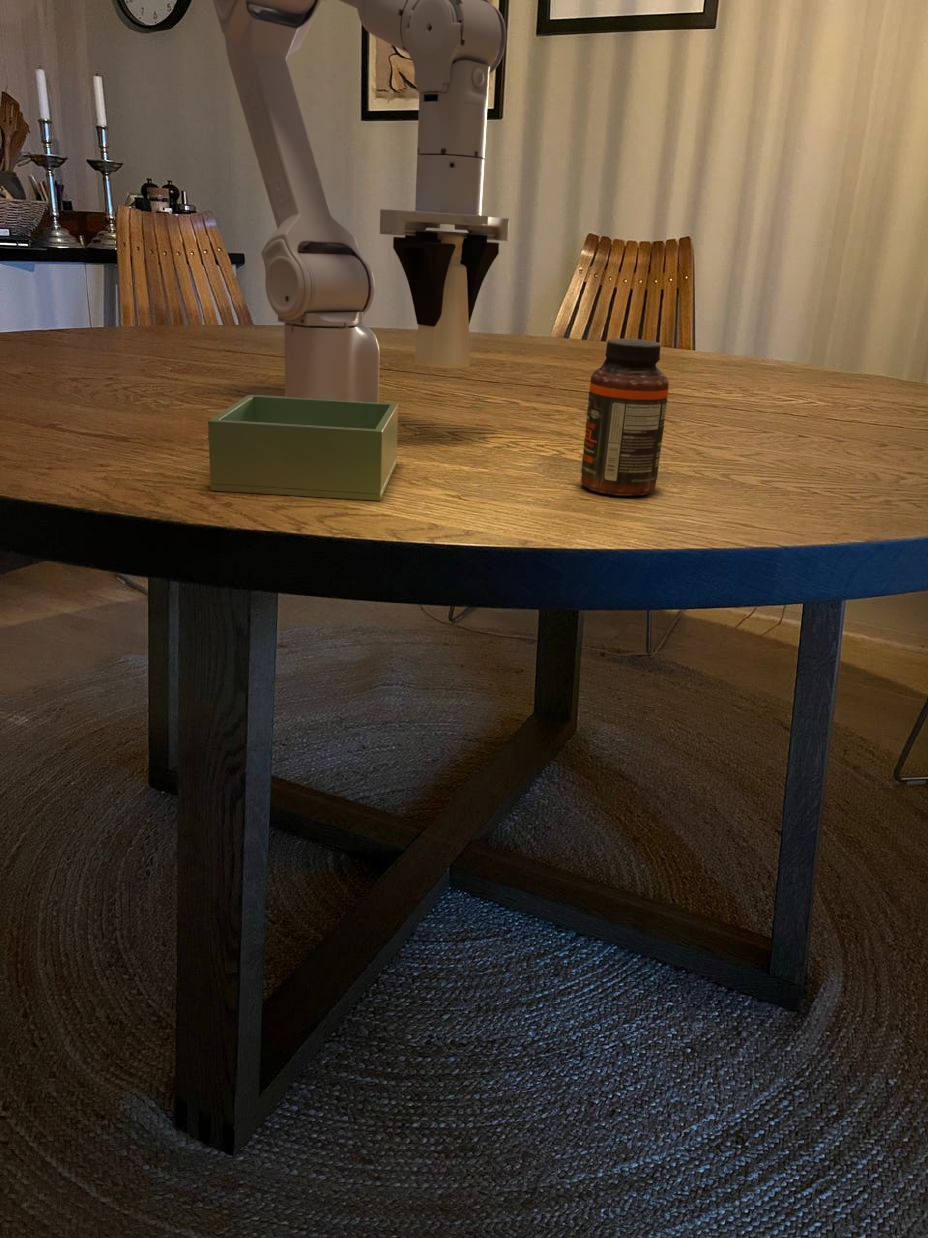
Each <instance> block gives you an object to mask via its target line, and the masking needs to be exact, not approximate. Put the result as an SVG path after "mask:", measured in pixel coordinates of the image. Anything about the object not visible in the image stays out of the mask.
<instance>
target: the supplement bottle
mask: <svg viewBox="0 0 928 1238" xmlns="http://www.w3.org/2000/svg"><path fill="white" fill-rule="evenodd" d="M661 347H662V344H661V343H660V342H656V341H653V340H645V339H639V338H637V339H636V338H610V339H608V340H607V342H606V349H605V354H604V355H605V359H604V361H603V363H602V364H601V366H600V367H599V368H597V369H596V370H594V371H593V372H592V374H591V377H590V382H589V390H588V399H587V409H586V421H585V432H584V439H583V448H582V449H583V452H582V460H581V461H582V462H581V469H580V473H581V477H580V481H581V484H582V485H583V486H584V487H585V488H586V489H588V490H590V491H591V492H595V493H599V494H603V495H611V496H615V497H642V496H645V495H647V494H650V493H652V492H653V491H655V489H656V487H657V480H658V474H659V466H660V459H661V452H662V443H663V437H664V429H665V421H666V413H667V406H668V405H667V404H668V397H669V389H670V388H669V387H670V382H669V379H668V376H667V375H666V374H665V373H664V372H662V371H661V370H660V368H659V367H658V366H657V363H658V362H659V361H660V360H661Z"/></svg>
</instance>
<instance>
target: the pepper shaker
mask: <svg viewBox="0 0 928 1238" xmlns="http://www.w3.org/2000/svg"><path fill="white" fill-rule="evenodd" d="M438 240H441V243H450V244H455V246H456V247H455V250H454V252H453V255H452V258H451V260H450V264H449V267H448V271H447V275H446V279H445V284H444V292H443V303H442V313H441V316H440V319H439V321H438V322H437V324H436V326H426V325H418V324H417V333H416V341H415V347H414V348H415V349H414V354H413V355H414V356H413V361H414V364H415V365H419V366H425V367H431V368H450V369H457V368H467V367H468V368H469V367H470V366H471V348H470V347H471V346H470V345H471V344H470V323H469V318H468V292H467V272H466V267H465V266H464V265H462V264H460V260H461V254H462V244H463V240H464V238H463V236H461V235H457V234H440V237H438Z"/></svg>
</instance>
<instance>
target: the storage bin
mask: <svg viewBox="0 0 928 1238" xmlns="http://www.w3.org/2000/svg"><path fill="white" fill-rule="evenodd" d="M398 423H399V403H395V402H394V403H393V402H363V401H346V400H330V399H313V398H297V397H285V396H279V395H278V396H277V395H262V394H248V395H246V396H244V397H242V398H241V399H240V400H238V401H236V402H235V403H233V404H232V405H230V406H229V407H227V408H225V409H224V410H222V411H221V412H219V413H218V414H216V415H215V416H213V417H212V418H210V419H208V420H207V429H208V453H209V454H208V456H209V457H208V458H209V482H210V485H209V486H210V491H213V492H214V491H215V492H230V493H231V492H232V493H244V494H245V493H246V494H247V493H248V494H260V495H261V494H263V495H264V494H265V495H279V496H296V497H311V498H328V499H346V500H362V501H376V502H380V501H381V500H382V498H383V496H384V493H385V491H386V489H387V486H388V484H389V482H390V480H391V477H392V476H393V473H394V470H395V469H396V466H397V461H398V460H397V459H398V458H397V457H398V430H399V429H398V427H399V425H398Z"/></svg>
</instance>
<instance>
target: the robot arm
mask: <svg viewBox="0 0 928 1238" xmlns="http://www.w3.org/2000/svg"><path fill="white" fill-rule="evenodd" d="M328 1H329V0H212V2H213V6H214V9H215V12H216V15H217V19H218V23H219V26H220V29H221V33H222V34H223V35H224V40H225V41H224V42H225V49H226V56H227V60H228V64H229V67H230V71H231V74H232V78H233V81H234V84H235V88H236V92H237V95H238V98H239V101H240V106H241V109H242V111H243V116H244V119H245V122H246V126H247V129H248V133H249V136H250V139H251V143H252V146H253V149H254V153H255V157H256V160H257V163H258V167H259V170H260V174H261V177H262V180H263V185H264V186H265V187H264V188H265V191H266V195H267V197H268V200H269V204H270V209H271V211H272V214H273V219H274V221H275V225H276V228H277V230H276V231H275V232H274V233H273V234H272V235H271V237H269V238H268V240H267V241H266V243H265V245H264V247H263V248H262V250H261V257H262V261H263V264H264V271H265V279H264V280H265V281H264V283H265V284H264V286H265V294H266V298H267V300H268V302H269V305H270V307H271V308H272V311H273V312H274V313H275V314H276V315H277V322H278V323H279V322H280V323H284V324H283V325H284V326H283V328H284V329H283V332H284V333H283V334H284V335H283V336H284V397H297V398H313V399H330V400H346V401H363V402H379V401H380V400H379V397H380V392H379V391H380V362H381V361H380V357H381V354H380V346H379V342H378V340H377V336H376V334H375V333H374V332H373V330H372V329H371V328H369V327H368V326H367V325H365V324H363V316H365V315H366V314H367V312H369V310H370V308H371V307H372V304H373V301H374V297H375V291H376V290H375V288H376V286H375V284H376V283H375V277H374V276H375V275H374V274H373V270H372V267H371V266H370V264H369V262H368V260H366V259H365V257H364V256H363V254H362V253H361V251H360V248H359V246H358V242H357V239H356V237H355V236H354V235H353V234H352V233H351V232H350V231H349V230H347V228H346V227H344V226H343V225H342V224H341V223H339V222H338V221H337V220H336V219H335V218H334V217H333V215H332V213H331V210H330V207H329V203H328V201H327V200H328V199H327V197H326V192H325V190H324V185H323V182H322V180H321V176H320V172H319V169H318V165H317V162H316V159H315V155H314V151H313V148H312V145H311V141H310V138H309V134H308V131H307V127H306V124H305V120H304V118H303V113H302V110H301V107H300V103H299V100H298V95H297V94H296V89H295V86H294V83H293V79H292V75H291V73H290V68H289V66H288V61H287V60H288V56H289V55H291V54H292V53H294V52H296V51H299V49H300V47H301V45H303V41H304V40H305V38H306V35H307V33H308V32H309V30H310V28H311V26H312V23H313V21H314V20H315V18H316V15H317V14H318V12H319V10H320V8H321V6H322V3H323V2H324V3H327V2H328ZM338 1H340V2H342V3H344V4H346V5H348V6H351V7H352V8H355V9H357V14H358V15H357V16H358V18H359V21H360V23H361V25H362V27H363V28H364V29H365V31H366V32H368V33H369V34H370V35H372V36H374V37H376V38H378V39H380V40H382V41H384V42H385V43H388V44H389V45H391V46H393V47H395V48H397V49H399V50H400V51H402V52H405V53H406V54H407V55H408V56H409V58H410V60H411V62H412V64H413V69H414V74H413V75H414V77H413V78H414V79H413V81H414V82H413V84H414V86H416V91H417V92H418V94H419V95H418V117H417V118H418V120H417V123H418V124H417V148H416V149H417V150H416V173H415V174H416V175H415V176H416V177H415V202H414V203H415V205H414V207H415V208H414V210H406V209H392V208H391V209H390V208H389V209H388V208H380V209H379V234H380V235H389V236H390V235H392V236H393V237H392V239H393V240H392V249H393V250H394V252H395V255H396V256H397V258H398V260H399V262H400V264H401V266H402V269H403V272H404V274H405V277H406V280H407V283H408V287H409V291H410V295H411V301H412V305H413V310H414V316H415V320H416V324H417V326H418V325H426V326H436V324H437V322H438V321H439V319H440V316H441V313H442V303H443V292H444V284H445V279H446V275H447V271H448V267H449V264H450V260H451V258H452V255H453V252H454V250H455V247H456V246H455V244H450V243H441V240H438V237H440V234H457V235H461V236H463V238H464V240H463V244H462V254H461V260H460V264H462V265H464V266H465V267H466V272H467V292H468V318H469V324H470V323H471V319H472V317H473V313H474V310H475V306H476V303H477V300H478V296H479V293H480V290H481V288H482V285H483V283H484V279H485V278H486V276H487V274H488V273H489V270H490V268H491V266H492V265H493V263H494V261H495V260H496V258H497V257H498V255H499V254H500V242H499V241H501V242H508V241H509V228H510V227H509V226H510V218H507V217H496V216H489V215H482V208H483V207H482V206H483V190H484V189H483V188H484V174H485V155H486V136H487V122H488V121H487V118H488V105H489V104H488V103H489V84H490V75H491V74H493V73H494V71H495V70H496V69H497V68H498V66H499V64H500V63H501V60H502V58H503V56H504V53H505V50H506V44H507V28H506V22H505V20H504V17H503V14H502V13H501V12H500V10H499V9H498V8H497V7H496V6H495V5H493V4H492V3H491V2H490V1H489V0H338ZM441 225H451V226H452V225H453V226H454V230H455V231H445V230H430V229H441ZM428 229H429V230H428ZM456 230H457V231H456ZM462 231H467V232H462ZM492 241H494V242H492ZM495 241H498V242H495ZM379 403H380V402H379Z"/></svg>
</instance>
